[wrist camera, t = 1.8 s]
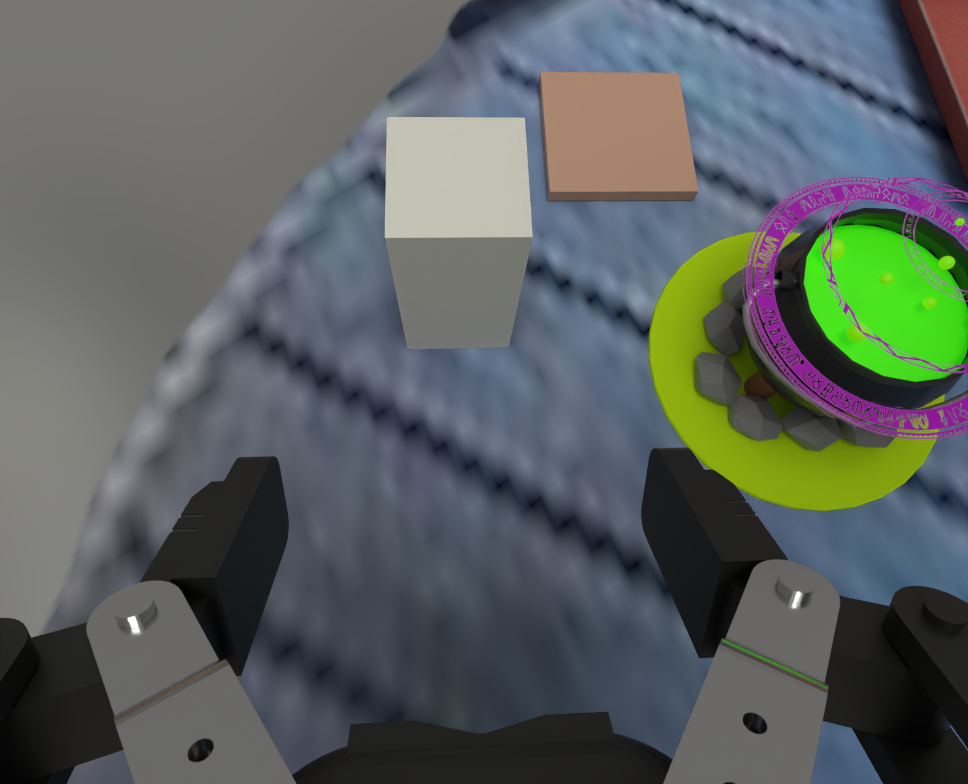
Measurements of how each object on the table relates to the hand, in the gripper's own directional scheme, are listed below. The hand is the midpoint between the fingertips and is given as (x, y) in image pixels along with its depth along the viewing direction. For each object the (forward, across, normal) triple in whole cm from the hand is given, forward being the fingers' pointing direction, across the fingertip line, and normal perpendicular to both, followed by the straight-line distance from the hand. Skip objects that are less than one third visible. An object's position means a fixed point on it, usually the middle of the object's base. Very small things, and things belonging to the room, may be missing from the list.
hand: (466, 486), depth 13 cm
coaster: (+26, -9, -5) cm, 28 cm away
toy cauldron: (+16, -17, +5) cm, 24 cm away
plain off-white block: (+19, 0, +2) cm, 19 cm away
